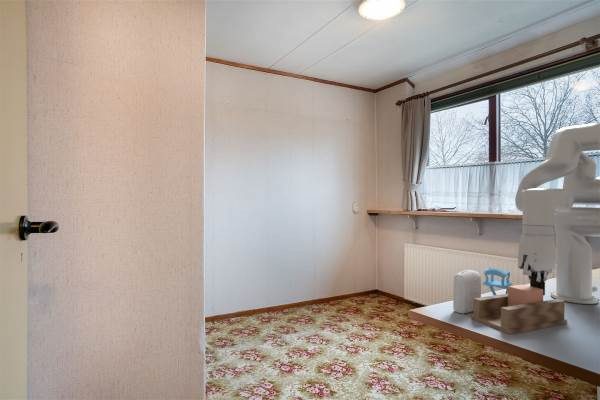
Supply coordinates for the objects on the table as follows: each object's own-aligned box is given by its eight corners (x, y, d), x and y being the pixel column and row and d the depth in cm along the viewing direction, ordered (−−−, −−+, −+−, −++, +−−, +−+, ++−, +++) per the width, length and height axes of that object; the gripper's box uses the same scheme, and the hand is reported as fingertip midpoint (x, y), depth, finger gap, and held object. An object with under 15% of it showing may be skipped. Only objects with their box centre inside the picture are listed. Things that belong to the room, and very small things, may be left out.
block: (522, 311, 99) (522, 284, 99) (543, 318, 93) (543, 289, 93) (507, 313, 97) (507, 286, 97) (528, 320, 91) (528, 291, 91)
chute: (524, 309, 104) (524, 290, 104) (567, 323, 92) (567, 301, 92) (471, 318, 96) (471, 297, 96) (510, 334, 85) (510, 310, 85)
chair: (514, 304, 109) (515, 267, 109) (506, 309, 103) (506, 271, 103) (489, 299, 115) (489, 264, 115) (479, 303, 109) (479, 267, 109)
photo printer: (469, 305, 108) (469, 267, 108) (483, 309, 104) (483, 269, 104) (451, 311, 102) (451, 270, 102) (464, 315, 99) (464, 273, 99)
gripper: (542, 229, 103) (541, 288, 103) (507, 230, 98) (506, 293, 98) (569, 231, 96) (568, 295, 96) (533, 233, 91) (532, 300, 91)
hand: (537, 294), depth 97 cm, fingers closed
